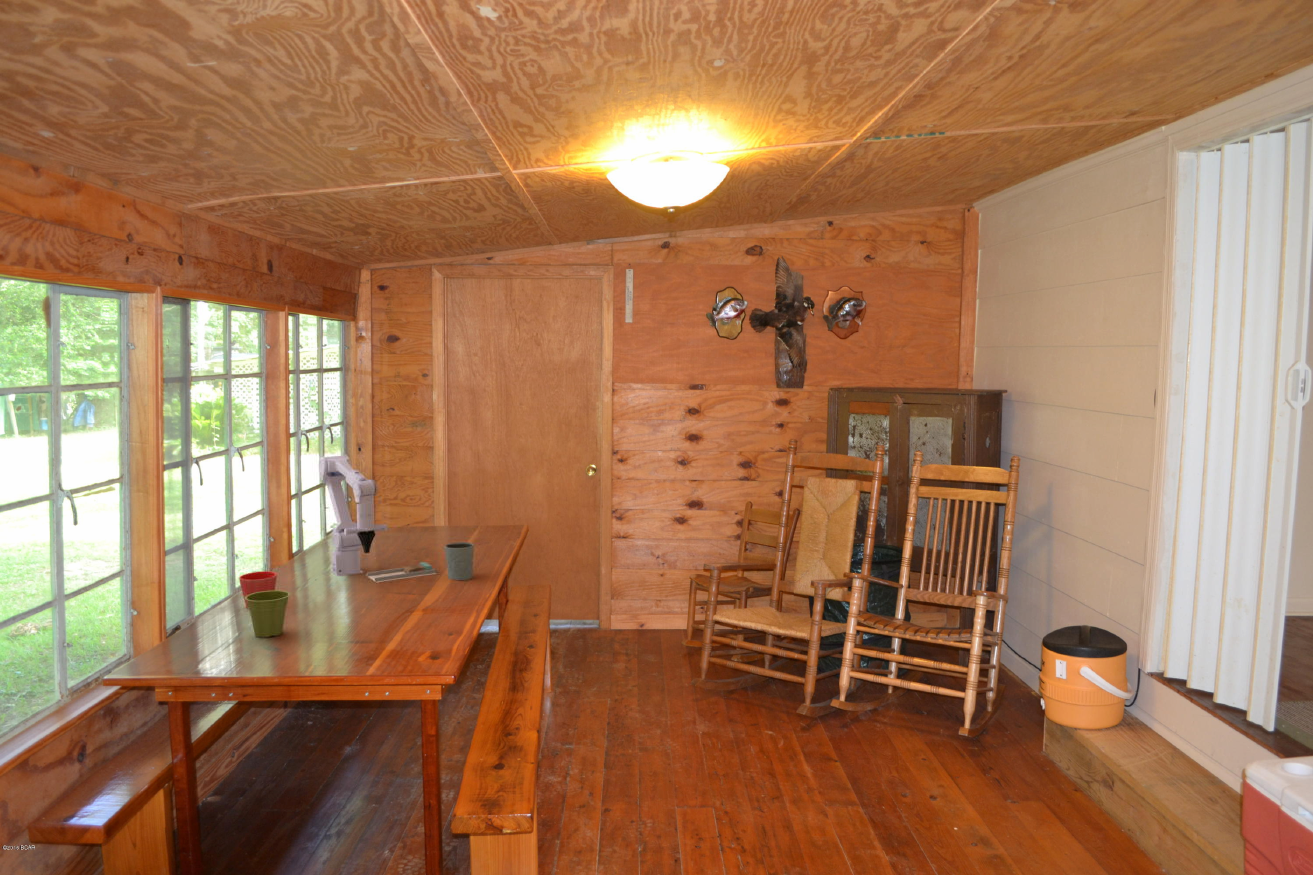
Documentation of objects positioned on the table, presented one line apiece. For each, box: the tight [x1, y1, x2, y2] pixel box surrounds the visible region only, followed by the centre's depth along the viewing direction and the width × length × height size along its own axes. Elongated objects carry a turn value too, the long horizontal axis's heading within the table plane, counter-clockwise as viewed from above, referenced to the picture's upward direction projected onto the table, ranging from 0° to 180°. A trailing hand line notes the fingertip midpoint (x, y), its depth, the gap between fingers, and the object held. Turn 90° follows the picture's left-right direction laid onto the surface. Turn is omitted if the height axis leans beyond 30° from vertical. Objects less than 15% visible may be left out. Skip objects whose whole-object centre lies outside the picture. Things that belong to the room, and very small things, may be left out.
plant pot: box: [244, 589, 291, 638], centre depth 250 cm, size 12×12×11 cm
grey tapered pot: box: [444, 541, 475, 582], centre depth 314 cm, size 10×10×12 cm
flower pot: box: [238, 570, 278, 609], centre depth 279 cm, size 11×11×10 cm
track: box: [365, 561, 437, 583], centre depth 317 cm, size 22×12×3 cm, turn 126°
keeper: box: [403, 564, 425, 573], centre depth 320 cm, size 6×5×2 cm
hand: (366, 552), depth 310 cm, fingers closed
